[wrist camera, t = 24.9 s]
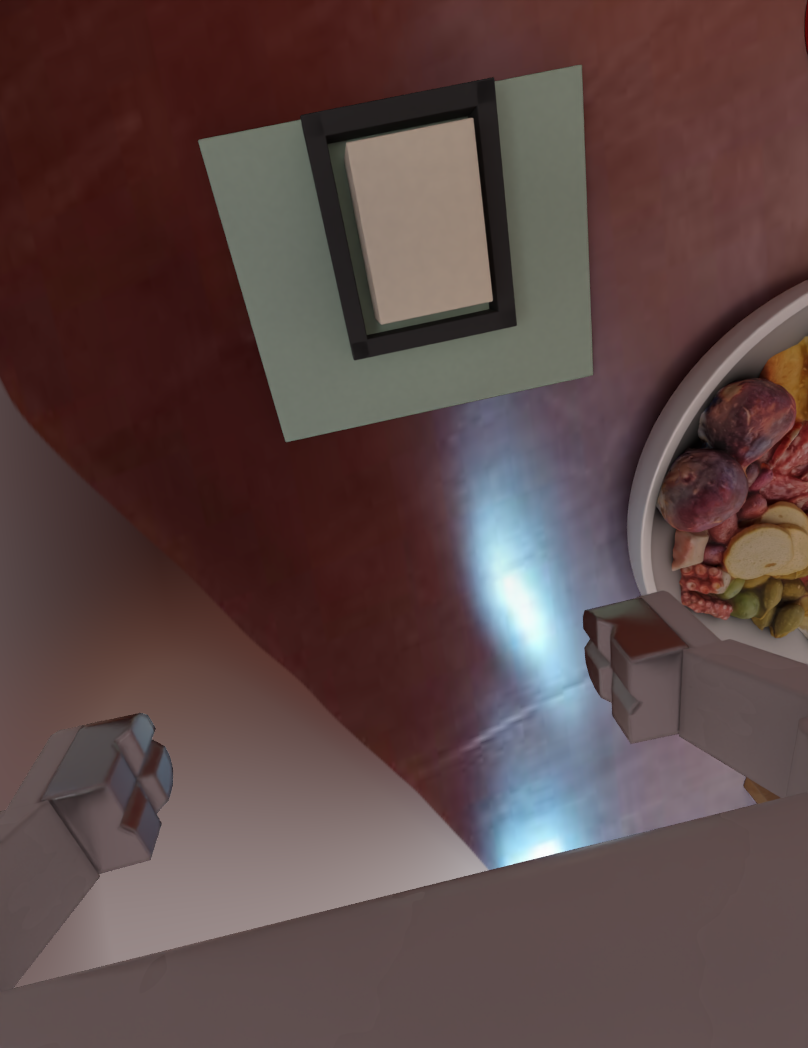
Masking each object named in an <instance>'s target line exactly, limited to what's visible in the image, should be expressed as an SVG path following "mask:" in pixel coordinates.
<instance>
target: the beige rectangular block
mask: <svg viewBox="0 0 808 1048" xmlns="http://www.w3.org/2000/svg"><path fill="white" fill-rule="evenodd" d="M344 165H345V170H346V175H347V180H348V185H349V190H350V195H351V200H352V205H353V210H354V215H355V220H356V225H357V231H358V236H359V241H360V246H361V251H362V256H363V261H364V266H365V271H366V276H367V281H368V286H369V292H370V297H371V302H372V307H373V312H374V317H375V319H376V320H377V321H378V322H379V323H380V324H381V325H383V324H388V323H393V322H397V321H402V320H407V319H412V318H416V317H421V316H426V315H431V314H435V313H440V312H445V311H450V310H454V309H459V308H464V307H468V306H473V305H478V304H483V303H487V302H492V301H493V296H492V287H491V278H490V268H489V259H488V250H487V240H486V231H485V222H484V212H483V203H482V194H481V185H480V175H479V166H478V157H477V147H476V138H475V129H474V119H473V118H467V119H462V120H457V121H452V122H447V123H442V124H437V125H432V126H427V127H422V128H417V129H412V130H407V131H402V132H397V133H392V134H387V135H382V136H377V137H372V138H367V139H362V140H357V141H351V142H347V143H346V148H345V154H344Z"/></svg>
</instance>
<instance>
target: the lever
mask: <svg viewBox="0 0 808 1048" xmlns="http://www.w3.org/2000/svg"><path fill="white" fill-rule="evenodd" d="M805 38H806V47H807V52H808V2H807V9H806V19H805Z"/></svg>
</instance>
